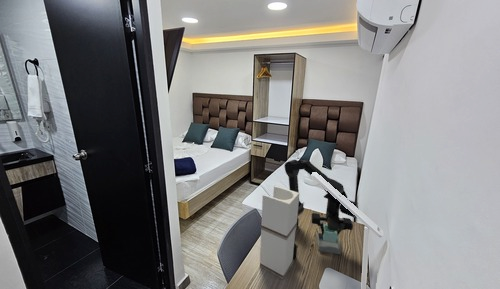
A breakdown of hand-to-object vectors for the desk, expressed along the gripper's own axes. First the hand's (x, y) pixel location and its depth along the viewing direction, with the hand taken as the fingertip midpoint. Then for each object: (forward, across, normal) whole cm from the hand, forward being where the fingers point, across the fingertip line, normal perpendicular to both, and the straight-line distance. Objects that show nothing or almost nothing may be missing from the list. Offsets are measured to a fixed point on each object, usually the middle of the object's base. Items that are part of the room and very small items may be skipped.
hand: (329, 235), depth 102 cm
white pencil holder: (+6, -24, -20) cm, 31 cm away
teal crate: (+1, 0, 0) cm, 1 cm away
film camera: (+6, -22, -9) cm, 25 cm away
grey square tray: (+6, 0, 0) cm, 6 cm away
